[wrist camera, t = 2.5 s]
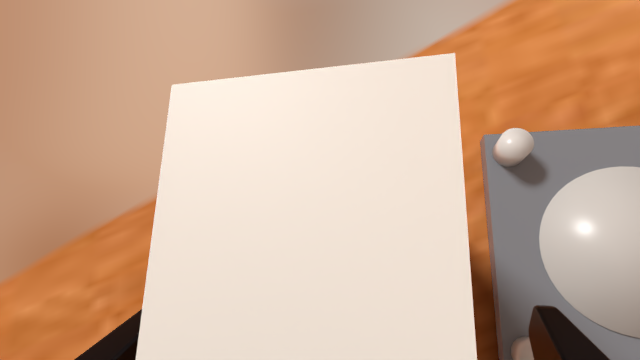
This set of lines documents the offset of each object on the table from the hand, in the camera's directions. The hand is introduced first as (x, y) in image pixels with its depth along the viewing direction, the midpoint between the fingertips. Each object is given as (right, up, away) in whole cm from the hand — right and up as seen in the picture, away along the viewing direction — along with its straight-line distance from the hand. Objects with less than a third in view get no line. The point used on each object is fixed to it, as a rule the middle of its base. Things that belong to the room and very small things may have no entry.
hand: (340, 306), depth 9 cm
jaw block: (+2, -1, +10) cm, 10 cm away
